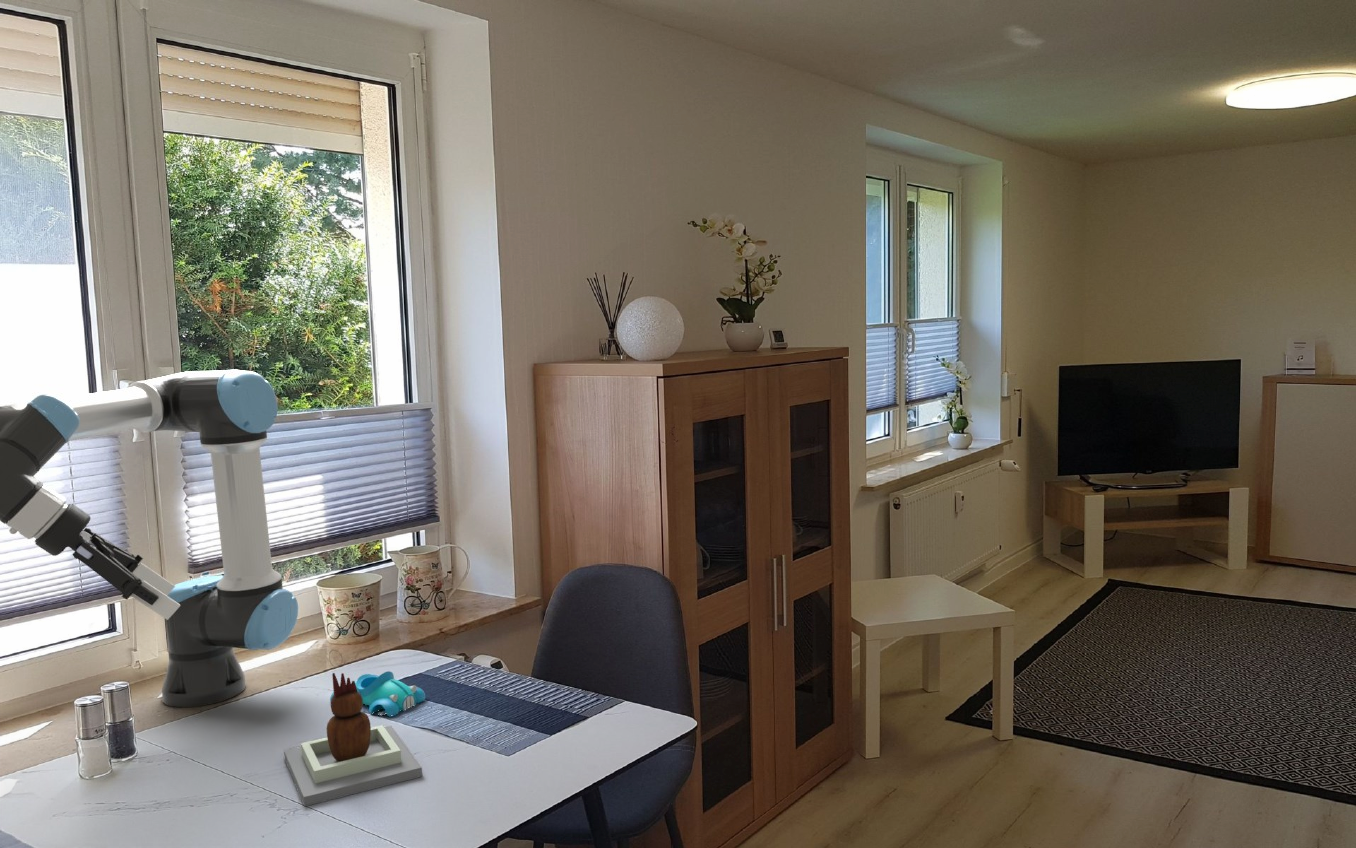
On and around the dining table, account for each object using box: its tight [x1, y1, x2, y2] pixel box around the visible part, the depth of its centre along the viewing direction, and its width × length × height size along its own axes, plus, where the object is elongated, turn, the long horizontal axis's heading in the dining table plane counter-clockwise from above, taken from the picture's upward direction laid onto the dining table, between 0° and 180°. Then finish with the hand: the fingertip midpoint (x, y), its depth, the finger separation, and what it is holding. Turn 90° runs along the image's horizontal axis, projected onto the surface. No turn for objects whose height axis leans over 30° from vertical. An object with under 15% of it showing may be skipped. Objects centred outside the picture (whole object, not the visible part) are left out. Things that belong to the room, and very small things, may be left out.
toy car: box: [329, 671, 426, 717], centre depth 195 cm, size 11×18×7 cm, turn 59°
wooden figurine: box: [326, 672, 371, 762], centre depth 165 cm, size 7×6×15 cm
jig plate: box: [283, 724, 423, 807], centre depth 166 cm, size 20×18×4 cm
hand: (171, 602), depth 160 cm, fingers open, 13 cm apart
